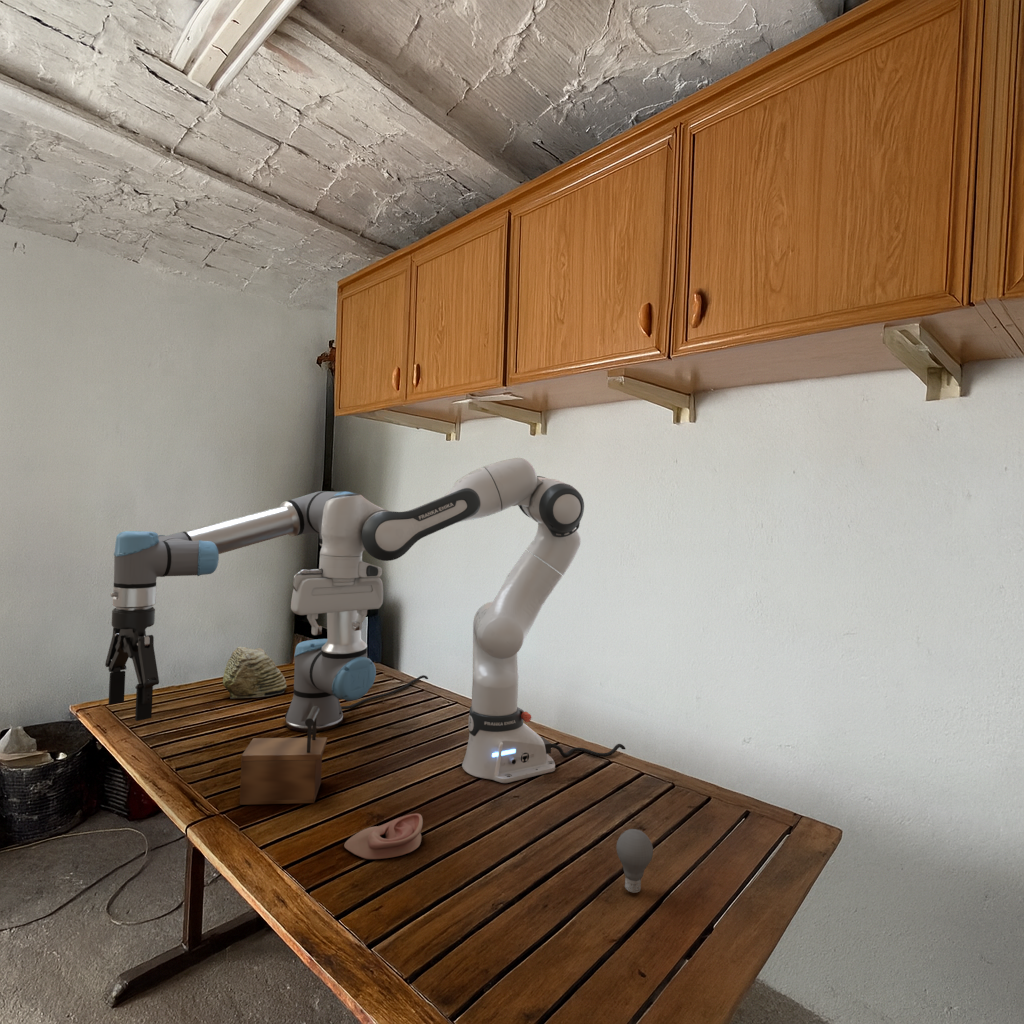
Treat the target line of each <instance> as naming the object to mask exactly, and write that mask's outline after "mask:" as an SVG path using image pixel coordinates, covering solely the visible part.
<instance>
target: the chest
mask: <svg viewBox="0 0 1024 1024" xmlns="http://www.w3.org/2000/svg"><path fill="white" fill-rule="evenodd" d="M240 761H241V760H240ZM322 767H323V756H322V757H321V760H277V761H241V762H240V785H239V805H240V806H244V805H245V806H246V805H247V806H248V805H251V806H252V805H289V804H291V805H292V804H315V802H316V799H317V795H318V793H319V790H320V787H321V784H322V770H323V769H322Z"/></svg>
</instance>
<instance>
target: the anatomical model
mask: <svg viewBox="0 0 1024 1024" xmlns="http://www.w3.org/2000/svg"><path fill="white" fill-rule="evenodd" d="M423 820H424V819H423V815H421V814H420V813H409V814H405V815H403V816H400V817H397V818H395V819H392V820H390V821H388V822H386V823H383V824H381V825H378V826H377V825H376V826H370V827H367V828H364V829H362V830H360V831H358V832H356V833H355V834H353V835H352V836H351V837H350V838H348V839H347V840H346V841H345V842H344V845H343V847H344V849H346V850H347V851H348V852H350V853H351V854H353V855H355V856H358V857H360V858H362V859H366V860H381V859H389V858H390V859H391V858H396V857H400V856H404V855H406V854H409V853H412V852H414V851H415V850H417V849H418V848H419V847H420V845H421V842H422V829H423V826H424V825H423V823H424V821H423Z"/></svg>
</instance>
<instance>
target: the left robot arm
mask: <svg viewBox="0 0 1024 1024" xmlns="http://www.w3.org/2000/svg"><path fill="white" fill-rule="evenodd" d="M353 493H354V492H352V491H345V490H344V491H329V490H321V491H316V492H311V493H308V494H306V495H302V496H299V497H296V498H295V497H294V498H293V499H289V500H285V501H282V502H281V503H280V505H279V506H276V507H273V508H270V509H265V510H261V511H257V512H253V513H250V514H245V515H242V516H238V517H234V518H230V519H227V520H226V519H225V520H223V521H218V522H215V523H211V524H207V525H203V526H198V527H195V528H191V529H186V530H184V531H180V532H176V533H172V534H167V535H164V534H158V532H156V531H146V530H145V531H143V530H126V531H121V532H119V533H118V534H117V535H116V538H115V544H114V551H113V552H114V553H113V557H114V558H113V559H114V560H113V561H114V562H113V565H114V566H113V592H111V593H110V597H111V598H112V606H113V607H115V608H113V609H112V610H111V627H112V636H111V640H110V644H109V648H108V652H107V656H106V659H105V664H104V665H105V668H107V669H108V672H109V680H108V681H109V683H108V705H115V704H120V703H121V704H122V703H125V691H126V671H127V665H126V664H127V662H128V660H129V659H131V661H132V664H133V667H134V671H135V672H134V673H135V676H136V678H137V679H136V680H137V682H138V683H137V684H136V685H135V689H136V693H135V694H136V695H135V715H134V716H135V717H134V720H135V721H136V722H139V721H143V720H147V719H152V716H153V693H154V691H153V690H154V687H155V686H157V685H159V683H160V678H159V672H158V666H157V665H158V664H157V659H156V653H155V645H154V643H155V642H154V641H155V640H154V639H155V637H154V635H153V634H148V635H147V632H146V630H147V628H151V627H153V625H154V624H155V619H156V608H155V607H154V606H155V605H156V603H157V579H158V578H165V577H186V576H187V577H188V576H197V577H200V576H205V575H211V574H212V575H213V573H215V572H216V571H217V568H218V564H219V560H220V558H219V557H220V556H219V555H221V554H224V553H228V552H232V551H234V550H238V549H243V548H245V547H249V546H252V545H256V544H259V543H262V542H266V541H269V540H272V539H277V538H279V537H284V536H287V535H288V536H289V537H297V536H301V535H307V534H315V535H319V546H320V547H322V536H321V526H322V516H323V510H324V506H325V503H326V501H327V500H328V499H329V498H331V497H333V496H336V495H343V494H353ZM357 616H358V613H357V610H356V611H344V612H333V613H326V632H327V638H318V639H308V640H304V641H300V642H299V643H297V644H296V646H295V650H294V655H293V657H294V672H293V673H294V674H293V695H292V696H293V697H292V699H291V702H290V704H289V708H288V709H287V711H286V712H285V715H284V719H285V726H286V728H287V729H289V730H291V731H294V732H295V731H296V732H301V733H307V732H308V726H306V725H305V721H306V719H307V717H308V715H309V713H310V711H311V709H312V707H314V706H317V707H319V709H320V711H319V713H318V716H317V723H316V733H317V732H325V731H329V730H332V729H335V728H337V727H339V726H340V725H342V723H343V722H344V714H343V710H349V709H352V708H356V707H357V706H360V705H362V704H364V703H366V702H368V701H369V702H370V701H372V700H377V699H380V698H383V697H387V696H390V695H393V694H395V693H399V692H400V691H402V690H405V689H407V688H409V686H411V685H413V684H414V683H416V682H418V681H419V680H421V679H425V680H428V679H429V677H428V676H427V675H423V674H422V675H420V676H418V677H416V678H415V679H413V680H411V681H409V682H407V684H405V685H402V686H400V687H399V688H396V689H394V690H391V691H388V692H385V693H381V694H377V695H372V696H370V697H367V698H364V699H361V698H362V697H364V696H366V695H367V693H368V692H369V690H370V689H372V687H373V686H374V684H375V680H376V677H377V668H376V665H375V663H374V662H373V661H372V660H371V658H369V657H368V644H367V643H366V641H364V640H363V639H362V629H361V630H357V631H354V630H352V622H353V621H355V620H356V618H357ZM125 670H126V671H125ZM359 699H361V700H359ZM340 700H344V701H349V702H353V701H357V700H359V701H357V702H354V703H352V704H349V705H341V702H340ZM312 731H313V726H312V729H311V733H312Z"/></svg>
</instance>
